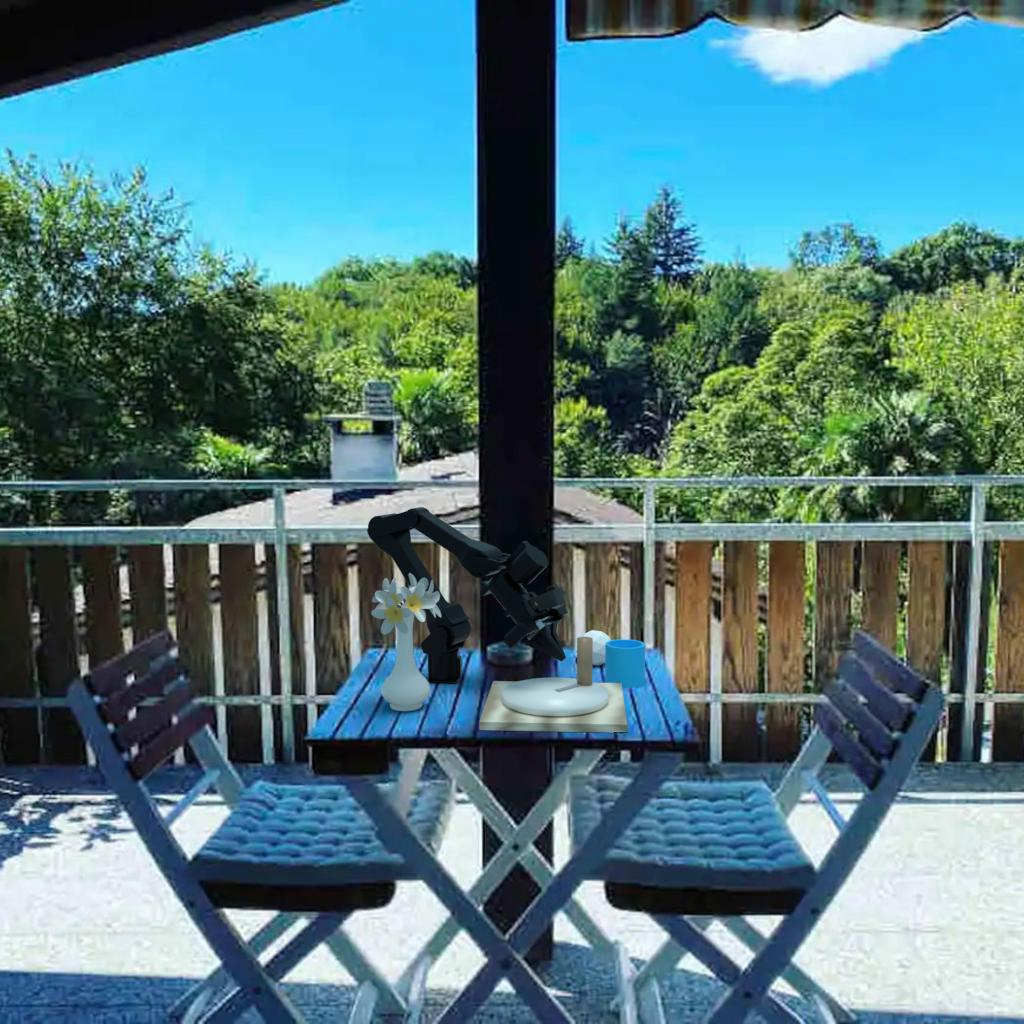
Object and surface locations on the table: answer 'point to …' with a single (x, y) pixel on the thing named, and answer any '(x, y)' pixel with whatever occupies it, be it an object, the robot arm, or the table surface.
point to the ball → (598, 645)
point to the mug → (625, 662)
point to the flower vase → (405, 639)
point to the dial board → (511, 720)
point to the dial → (560, 690)
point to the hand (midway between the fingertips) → (563, 659)
